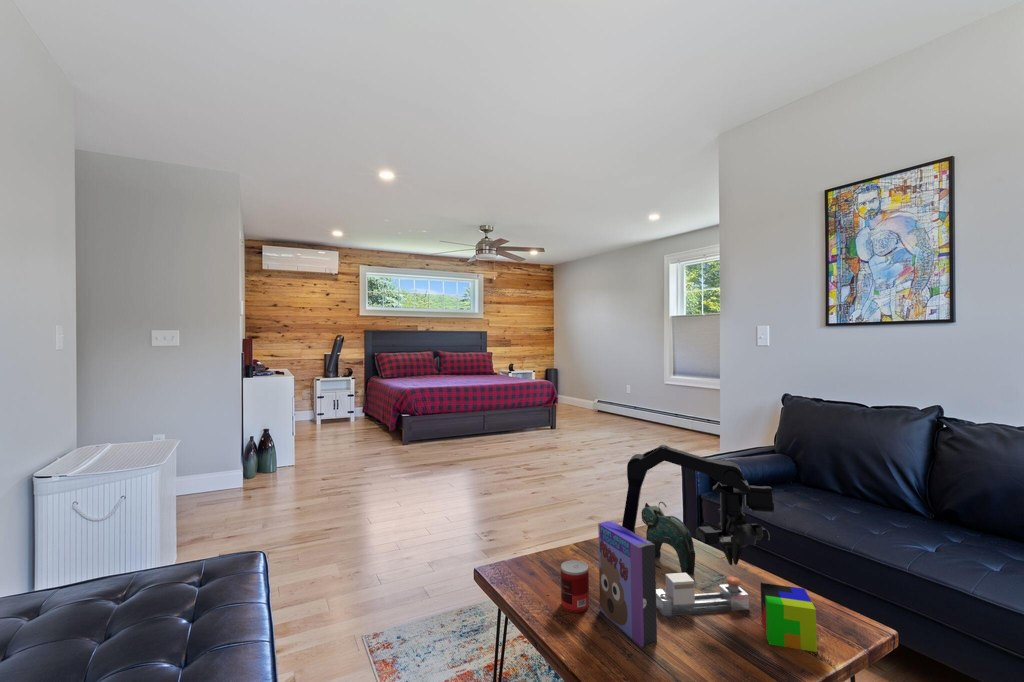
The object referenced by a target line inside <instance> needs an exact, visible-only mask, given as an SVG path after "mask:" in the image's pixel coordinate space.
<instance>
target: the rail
mask: <svg viewBox="0 0 1024 682" xmlns="http://www.w3.org/2000/svg"><path fill="white" fill-rule="evenodd" d="M718 588H719V589H718V591H719V592H709V593H708V592H707V593H695V603H692V604H679V605H673V603H672V602H671V599H670V598H669V597H668V595H667V594H666V591H664V589H662V588H656V610H658V611H659V613H660V614H661V615H662V616H663V617H666V616H667V617H668V616H680V615H683V616H684V615H692V614H693V615H694V614H695V615H696V614H704V613H705V614H706V613H720V612H721V613H722V612H731V611H732V612H734V611H746V610H750V608H749V607H750V606H749V605H750V602H749V601H750V600H749V598H750V597H749V594H748V593H747V592H746V591H745V590H744V589H742V588H741V587H740V586H739V593H730V592H729V591H728V583H725V584H719V586H718Z"/></svg>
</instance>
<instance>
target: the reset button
mask: <svg viewBox="0 0 1024 682" xmlns="http://www.w3.org/2000/svg"><path fill="white" fill-rule="evenodd" d="M725 579H726V580H725V582H726V584H728V591H729V592H730V593H739V587H740V585H741V579H740V578H738V577H736V576H730V575H729V576H727V577H726V578H725Z"/></svg>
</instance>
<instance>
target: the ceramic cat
mask: <svg viewBox="0 0 1024 682" xmlns="http://www.w3.org/2000/svg"><path fill="white" fill-rule="evenodd" d="M660 504H662V505H663V506H664V507H665V508H667V504H666V503H665V502H663V501H659V502H658V505H660ZM641 521H642V523H644V524H645V525H646V526H647V528H646V532H645V533H646V538H645V539H646V540H648V541H650V542H651V543H653V544H655V559H657V558H659V557H661V553H662V552H661V548H662V545H663V544H667V545H669V546H670V547H672V548H673V550H675V552H676V555H677V557H678V562H679V565H680V566H679V567H680V571H681V572H680V573H687V574H688V575H689V576H691V575H694V574H695V566H696V552H695V547H694V546H695V545H694V541H693V538H692V534H691V532H690V530H689V529H688V528H687V526H686V525H685V523H684V522H683V521H682V520H681V519H680V518H678V517H676V516H673V515H665V513H664V512H663V510H662V509H661V508H660V506H656V505H652V506H651V505H649V503H647V502H646V503H645V504H644V507H643V508H642V509H641Z"/></svg>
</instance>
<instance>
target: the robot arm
mask: <svg viewBox="0 0 1024 682" xmlns="http://www.w3.org/2000/svg"><path fill="white" fill-rule="evenodd" d="M663 462H668V463H670V464H674V465H677V466H681V467H683V468H687V469H690V470H693V471H695V472H699V473H702V474H705V475H707V476H709V477H711V478H712V479H714V480H715V481H717V483H716V484H714V485H713V486H712V492H714V493H719V496H720V497H719V501H720V508H717V512H718V514H720V522H719V523H718V524H717V525H718V526H717V527H718V528H719V529H718V530H715V529H714V528H713V527H711V526H698V527H697V528H696V529H695V536H696V538H697V539H699V540H700V541H702V543H704V544H705V545H717V544H718V543H719V544H718V545H720V548H721V549H722V551H723V554H724V556H725V559H726V560H727V563H728V564H729V565H730V566H733V564H734V565H735V566H737V565H738V564H739V561H740V559H741V555H742V553H743V551H744V549H745V547H748V546H755V545H756V542H757V541H759V542H767V541H768V542H769V541H770V532H769V531H768V529H767V528H765V527H763V526H762V525H761V524H758V523H748V521H747V519H748V518H747V516H746V515H747V514H745V513H744V505H745V507H747V508H748V509H749V511H751V512H760V513H761V512H762V513H767V514H768V513H769V514H774V511H775V503H774V500H773V491H772V490H773V489H772V487H771V486H766V485H763V486H760V485H759V486H758V485H749V482H748V480H746V478H744V476H743V473H742V470H741V468H740V466H739V465H738V463H736V462H734V461H733V460H726V459H725V460H724V459H710V458H706V457H703V456H700V455H696V454H693V453H690V452H687V451H683V450H680V449H677V448H673V447H671V446H668V445H665V444H660V445H659V446H658V447H655V448H654V449H651V450H648V451H646V452H643V454H642V453H636V454H634V455H632V456H631V457H630V459H629V460H628V462H627V465H626V473H627V474H626V475H627V477H626V478H627V484H628V487H627V491H626V492H627V493H626V499H625V504H624V505H625V506H624V511H623V517H622V524H621V526H623V527H624V528H626V529H628V530H630V531H632V532H633V533H635V534H636V523H637V516H638V512H639V511H638V509H639V505H640V498H641V492H642V491H641V490H642V486H643V484H644V480H645V478H646V475H647V472H648V471H649V470H650V469H653V468H655V467H656V466H657V465H659V464H661V463H663ZM743 495H744V498H743ZM743 499H744V502H743ZM743 503H744V504H743Z"/></svg>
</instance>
